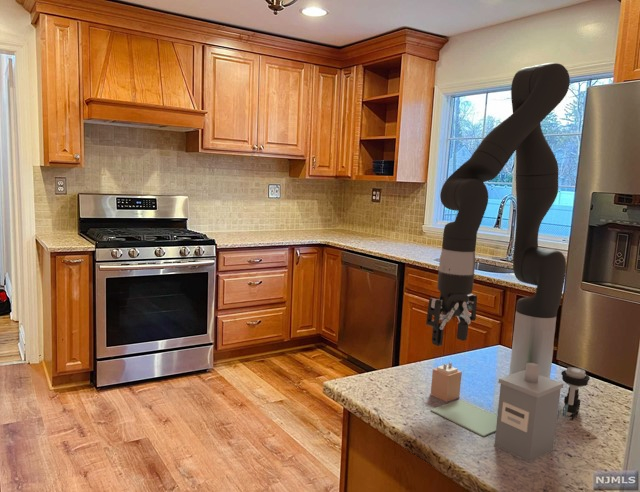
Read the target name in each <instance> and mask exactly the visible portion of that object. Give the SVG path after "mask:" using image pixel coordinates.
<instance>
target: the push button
mask: <svg viewBox="0 0 640 492" xmlns="http://www.w3.org/2000/svg"><path fill="white" fill-rule="evenodd" d="M560 373H561V375H562V376H561V379H562V382H563V383H565V384H566V385H568V386H569V387H568V391H567V394H566V396H564V399H563V403H564V406H563V407H562V414H564V415H563V418H564V419H565V420H567V421H570V420H571V421H574V419H575V417H577V418H579V417H580V408H581V399H580V397H579V396H580V393H579V388H582V387H585V386H586V387H587V385H588V383H589V381H590V377H591V376H589V375H588V374H587V373H586V370H584V369H582V368H578V367H572V366H570V367H569V366H568V367H567V368H566V370H562V371H561V372H560ZM576 415H577V416H576Z"/></svg>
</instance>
